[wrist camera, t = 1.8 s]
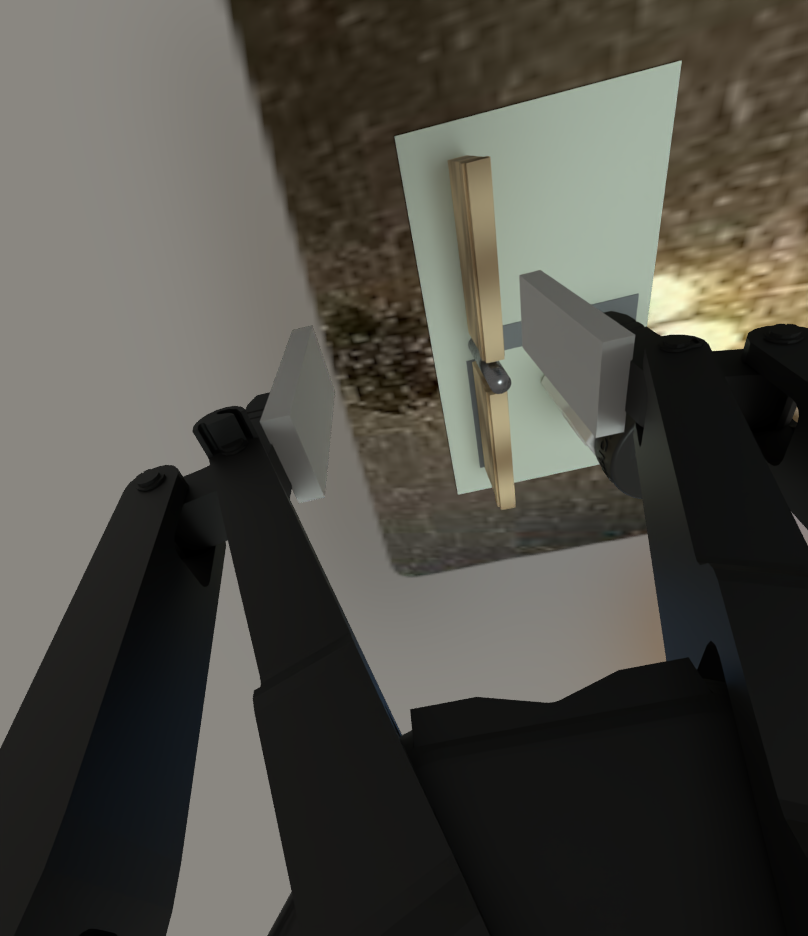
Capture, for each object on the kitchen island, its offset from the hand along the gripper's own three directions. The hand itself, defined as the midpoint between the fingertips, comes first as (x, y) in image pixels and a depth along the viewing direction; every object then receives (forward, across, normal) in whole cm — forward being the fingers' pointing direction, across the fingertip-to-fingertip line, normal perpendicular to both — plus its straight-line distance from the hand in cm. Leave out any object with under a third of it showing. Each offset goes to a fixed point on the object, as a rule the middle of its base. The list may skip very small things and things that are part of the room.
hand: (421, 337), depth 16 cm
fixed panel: (+17, +5, -15) cm, 23 cm away
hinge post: (+17, +5, -8) cm, 20 cm away
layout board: (+17, +10, -8) cm, 22 cm away
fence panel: (+16, +5, -1) cm, 17 cm away
